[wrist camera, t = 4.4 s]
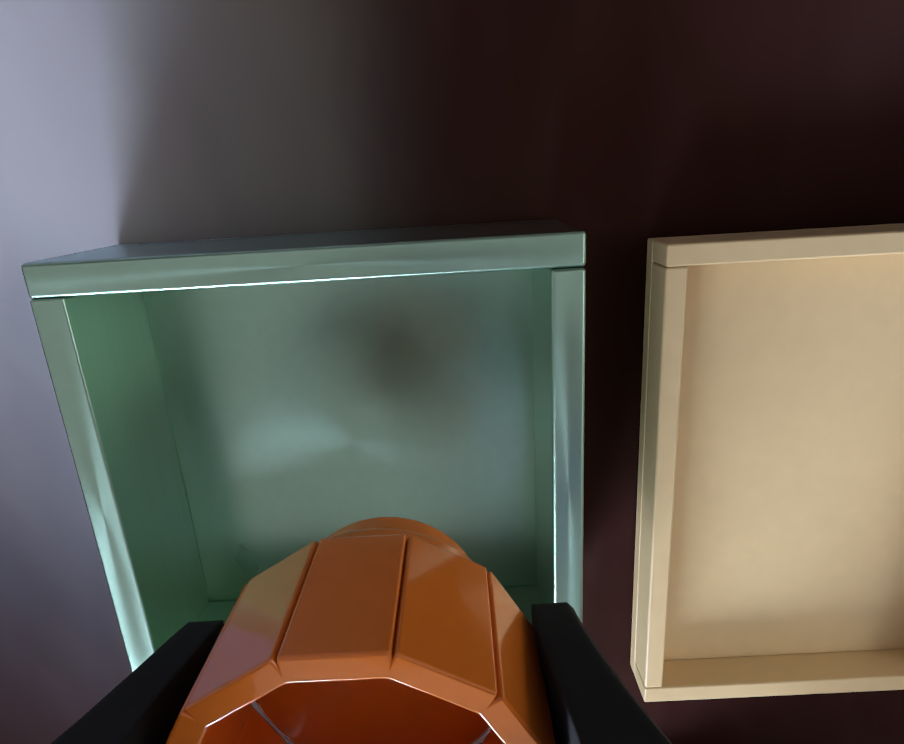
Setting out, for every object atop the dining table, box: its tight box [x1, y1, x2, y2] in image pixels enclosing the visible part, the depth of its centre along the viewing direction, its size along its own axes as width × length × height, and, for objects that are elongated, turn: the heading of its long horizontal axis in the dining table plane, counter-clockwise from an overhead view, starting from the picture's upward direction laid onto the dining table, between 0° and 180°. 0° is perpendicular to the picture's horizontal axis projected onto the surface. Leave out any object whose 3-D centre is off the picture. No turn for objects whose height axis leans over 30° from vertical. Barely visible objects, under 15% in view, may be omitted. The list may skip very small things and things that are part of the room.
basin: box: [22, 219, 586, 701], centre depth 17 cm, size 13×13×4 cm
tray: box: [630, 223, 904, 702], centre depth 19 cm, size 15×10×2 cm
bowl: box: [165, 517, 556, 744], centre depth 10 cm, size 5×5×4 cm
